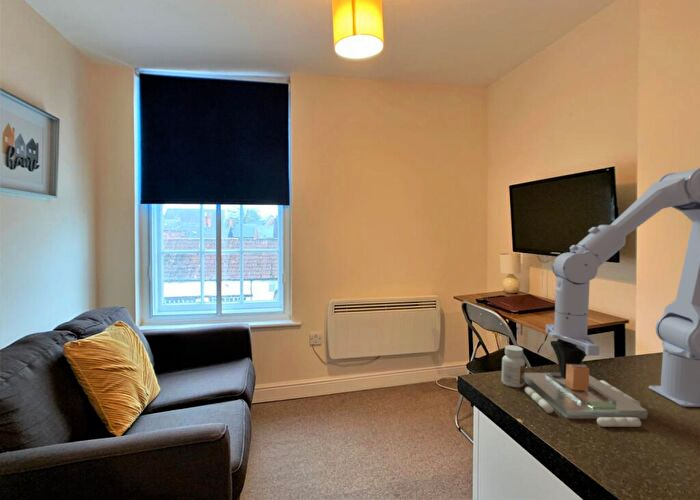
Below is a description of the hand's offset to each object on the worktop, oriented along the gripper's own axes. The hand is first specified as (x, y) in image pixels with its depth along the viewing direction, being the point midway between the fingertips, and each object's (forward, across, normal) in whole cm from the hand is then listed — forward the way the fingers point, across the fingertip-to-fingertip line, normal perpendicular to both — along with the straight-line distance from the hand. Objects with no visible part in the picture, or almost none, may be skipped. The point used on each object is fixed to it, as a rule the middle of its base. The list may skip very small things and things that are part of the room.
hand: (568, 378), depth 74 cm
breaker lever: (+1, +3, 0) cm, 3 cm away
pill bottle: (+3, -3, -10) cm, 11 cm away
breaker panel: (+2, +3, 0) cm, 4 cm away
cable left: (+2, +14, 0) cm, 14 cm away
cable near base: (+2, +3, +8) cm, 9 cm away
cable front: (+2, +6, -9) cm, 11 cm away
